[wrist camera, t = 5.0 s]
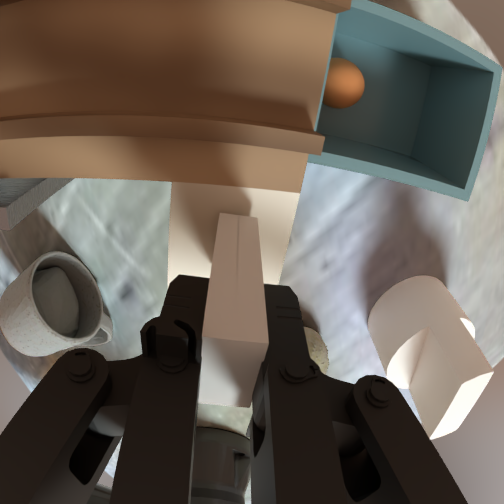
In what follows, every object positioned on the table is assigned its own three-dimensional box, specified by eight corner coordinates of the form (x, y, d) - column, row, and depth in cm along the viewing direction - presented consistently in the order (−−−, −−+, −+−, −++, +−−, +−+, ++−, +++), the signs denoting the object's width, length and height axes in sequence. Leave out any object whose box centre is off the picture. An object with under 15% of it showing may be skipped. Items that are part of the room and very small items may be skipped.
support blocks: (257, 171, 22) (272, 269, 11) (-20, 154, 19) (-118, 214, 9) (292, -23, 15) (344, -110, 4) (-10, -1, 12) (-116, -1, 2)
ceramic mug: (16, 273, 25) (-23, 325, 19) (59, 233, 24) (13, 289, 17) (85, 344, 30) (63, 401, 24) (137, 318, 28) (116, 384, 22)
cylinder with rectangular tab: (371, 283, 27) (425, 394, 17) (454, 268, 26) (522, 357, 16) (363, 352, 31) (396, 451, 21) (436, 335, 31) (481, 420, 21)
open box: (411, 163, 21) (468, 201, 15) (278, 132, 20) (296, 160, 14) (434, 62, 17) (502, 67, 11) (299, 17, 16) (329, -12, 10)
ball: (325, 107, 16) (296, 99, 18) (369, 117, 17) (338, 108, 19) (336, 51, 14) (305, 51, 17) (379, 67, 15) (347, 63, 18)
